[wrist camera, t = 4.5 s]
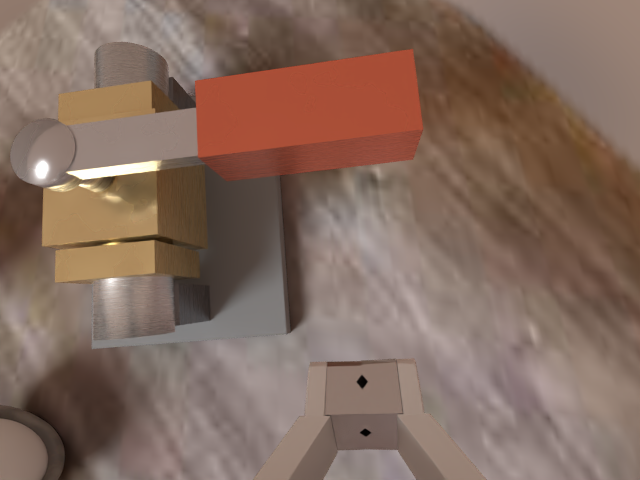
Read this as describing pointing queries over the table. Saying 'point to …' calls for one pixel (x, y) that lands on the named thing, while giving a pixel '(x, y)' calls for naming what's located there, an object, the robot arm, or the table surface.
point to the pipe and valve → (131, 210)
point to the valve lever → (244, 127)
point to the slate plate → (236, 265)
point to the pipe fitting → (28, 447)
